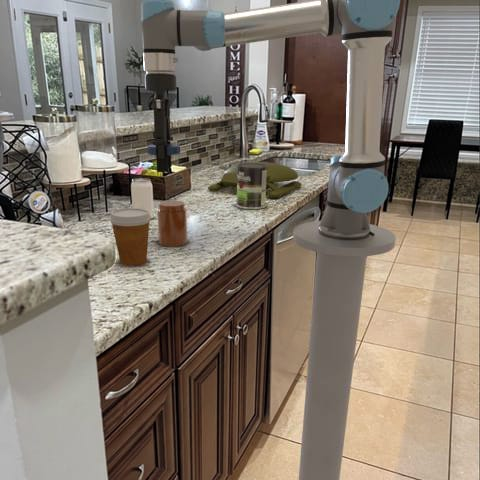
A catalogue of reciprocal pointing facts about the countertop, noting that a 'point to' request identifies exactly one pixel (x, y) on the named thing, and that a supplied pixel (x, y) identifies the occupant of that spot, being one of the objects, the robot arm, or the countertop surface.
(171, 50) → the robot arm
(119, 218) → the disposable coffee cup
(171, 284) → the countertop surface
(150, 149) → the lid
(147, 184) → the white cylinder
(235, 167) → the spaceship
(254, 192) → the coffee can
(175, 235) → the jar
